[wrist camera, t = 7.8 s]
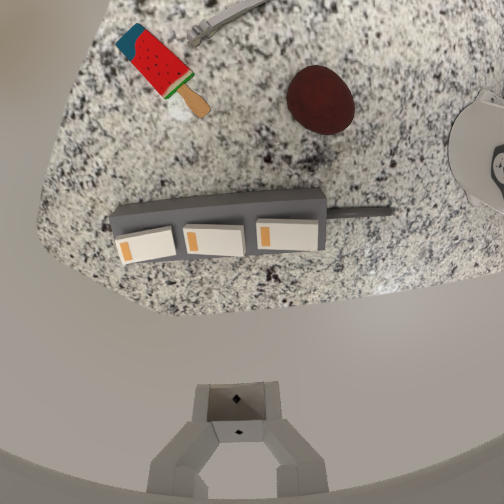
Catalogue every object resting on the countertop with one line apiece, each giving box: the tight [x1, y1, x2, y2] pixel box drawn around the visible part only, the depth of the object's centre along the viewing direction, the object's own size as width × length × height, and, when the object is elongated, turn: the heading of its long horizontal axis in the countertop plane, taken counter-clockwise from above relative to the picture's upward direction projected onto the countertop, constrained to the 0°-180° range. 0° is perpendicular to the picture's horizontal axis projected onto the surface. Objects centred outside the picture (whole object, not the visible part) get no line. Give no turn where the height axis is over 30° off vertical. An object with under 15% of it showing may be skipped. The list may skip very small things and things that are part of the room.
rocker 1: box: [115, 226, 176, 265], centre depth 36 cm, size 7×3×1 cm, turn 94°
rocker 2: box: [183, 224, 246, 257], centre depth 36 cm, size 7×3×1 cm, turn 94°
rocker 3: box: [256, 219, 318, 251], centre depth 36 cm, size 7×3×1 cm, turn 94°
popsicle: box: [116, 23, 210, 118], centre depth 31 cm, size 4×2×15 cm
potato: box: [287, 65, 355, 135], centre depth 31 cm, size 7×8×6 cm
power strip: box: [109, 188, 393, 264], centre depth 39 cm, size 38×7×5 cm, turn 94°
